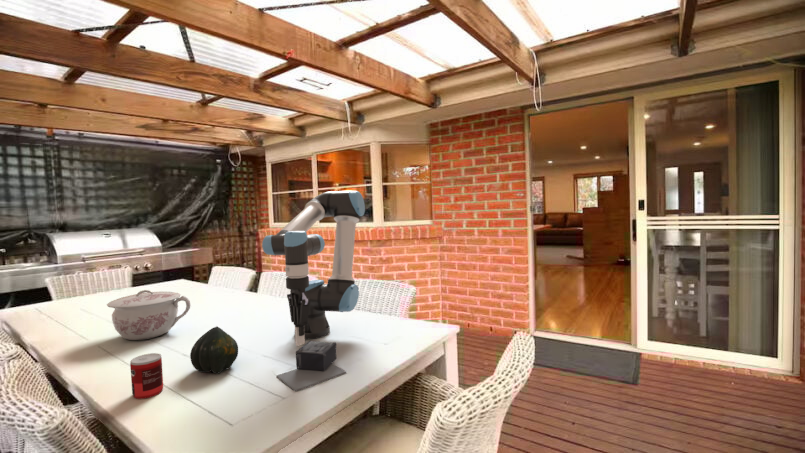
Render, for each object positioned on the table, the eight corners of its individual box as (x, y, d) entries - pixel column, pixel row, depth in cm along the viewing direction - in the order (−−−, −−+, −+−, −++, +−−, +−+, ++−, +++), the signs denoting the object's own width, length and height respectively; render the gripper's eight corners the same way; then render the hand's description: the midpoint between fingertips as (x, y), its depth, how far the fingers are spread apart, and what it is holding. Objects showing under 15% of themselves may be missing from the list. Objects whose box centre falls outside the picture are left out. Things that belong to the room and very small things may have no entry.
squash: (198, 368, 117) (225, 324, 125) (173, 361, 125) (200, 320, 133) (231, 384, 126) (254, 342, 134) (206, 376, 134) (229, 337, 142)
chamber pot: (94, 342, 161) (91, 295, 160) (157, 323, 186) (154, 282, 185) (137, 349, 150) (133, 299, 149) (197, 328, 176) (194, 285, 175)
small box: (295, 370, 126) (324, 372, 123) (294, 351, 125) (323, 353, 123) (310, 357, 136) (337, 359, 134) (309, 340, 136) (336, 341, 133)
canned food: (142, 388, 117) (139, 353, 116) (168, 386, 118) (166, 352, 117) (126, 400, 109) (123, 363, 109) (154, 398, 110) (152, 362, 109)
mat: (276, 376, 122) (276, 375, 122) (325, 360, 134) (325, 359, 134) (295, 391, 112) (295, 390, 112) (346, 373, 123) (346, 371, 123)
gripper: (278, 275, 129) (281, 342, 130) (295, 280, 119) (298, 352, 121) (299, 272, 134) (301, 336, 135) (316, 276, 124) (319, 346, 126)
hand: (300, 344), depth 128 cm, fingers closed
